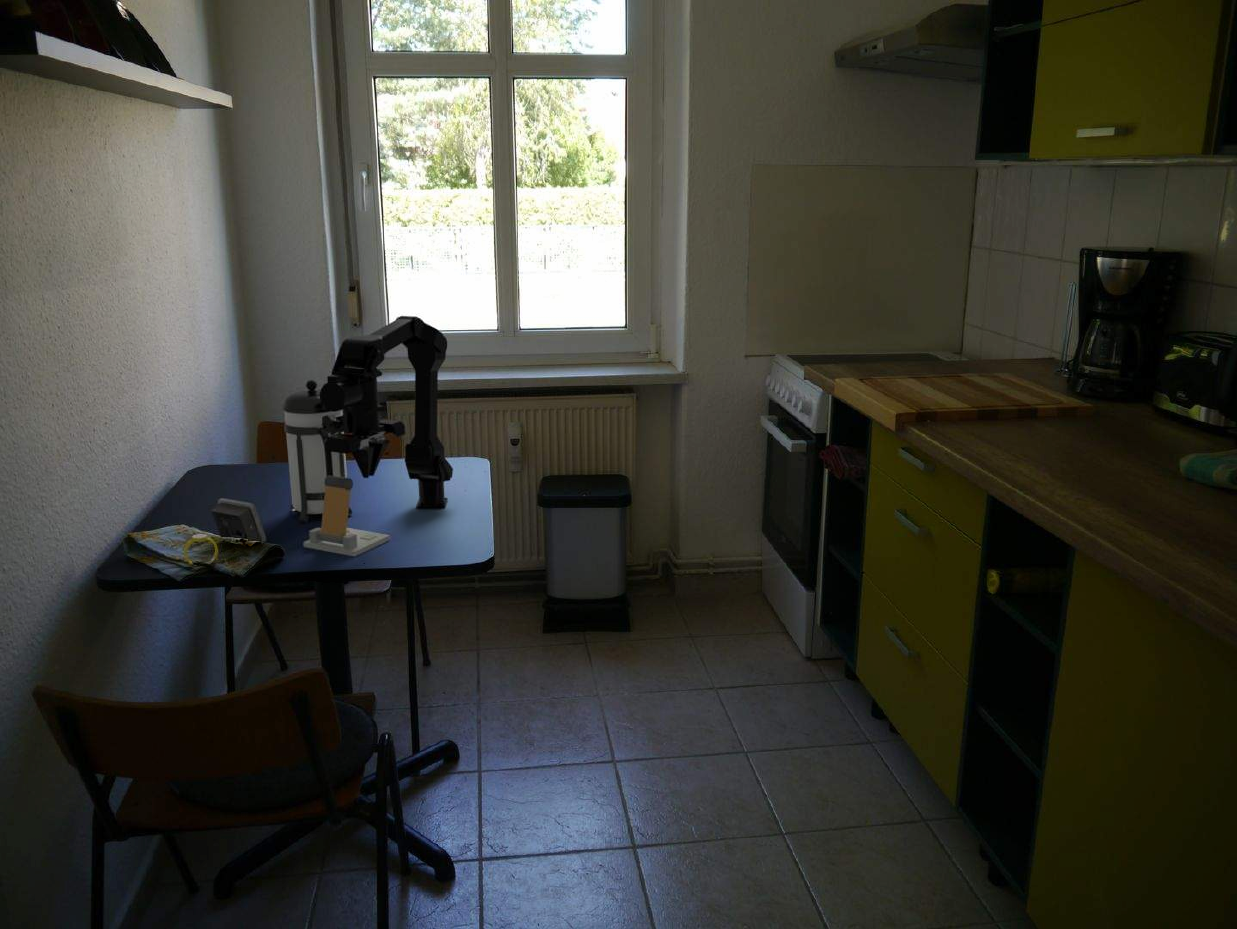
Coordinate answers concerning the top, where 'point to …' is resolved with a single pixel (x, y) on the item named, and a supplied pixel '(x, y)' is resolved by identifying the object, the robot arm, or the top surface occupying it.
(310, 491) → the coffee press
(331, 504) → the lever
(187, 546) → the watch
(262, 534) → the electrical switch
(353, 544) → the switch base
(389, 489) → the top surface
